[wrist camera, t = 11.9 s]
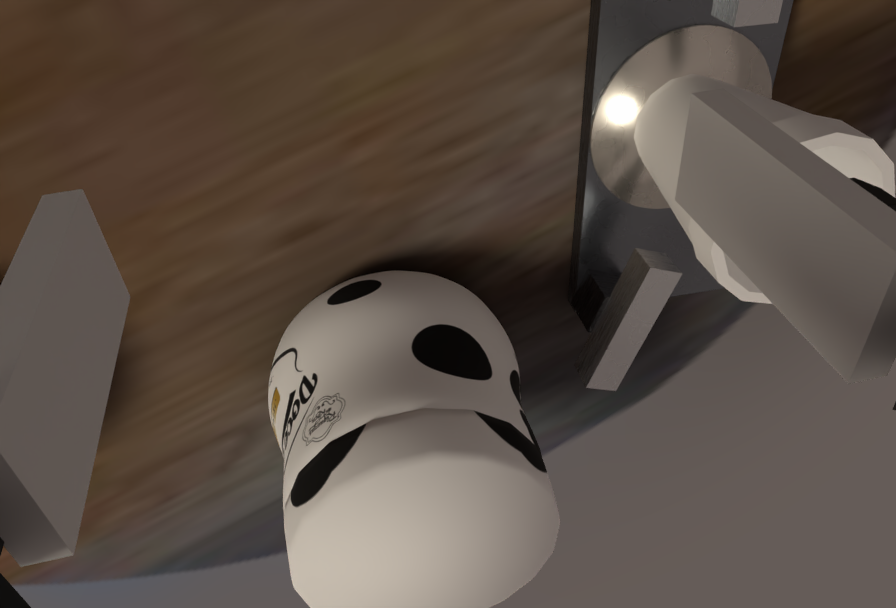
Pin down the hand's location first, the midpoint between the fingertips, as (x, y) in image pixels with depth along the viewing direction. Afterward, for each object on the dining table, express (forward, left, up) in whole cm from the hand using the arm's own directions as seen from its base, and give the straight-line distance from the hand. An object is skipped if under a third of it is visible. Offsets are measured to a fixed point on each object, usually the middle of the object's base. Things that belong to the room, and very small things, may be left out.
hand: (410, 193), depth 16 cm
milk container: (+27, 0, -27) cm, 38 cm away
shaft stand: (+11, +20, -27) cm, 35 cm away
